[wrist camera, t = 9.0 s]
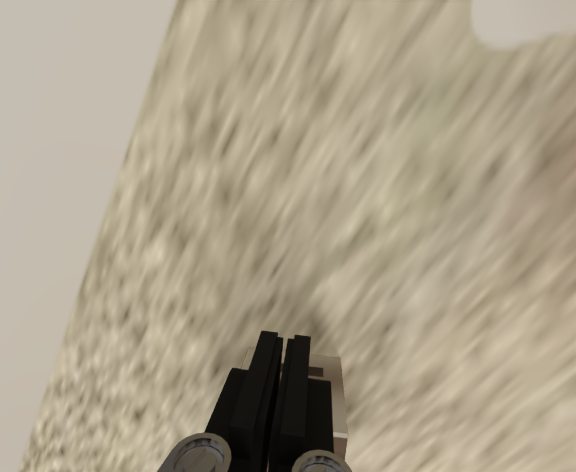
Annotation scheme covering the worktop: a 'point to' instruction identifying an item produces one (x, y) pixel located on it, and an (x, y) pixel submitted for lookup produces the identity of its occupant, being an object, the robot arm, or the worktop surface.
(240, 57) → the worktop surface
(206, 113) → the worktop surface
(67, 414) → the worktop surface
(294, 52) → the worktop surface
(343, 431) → the letter block
